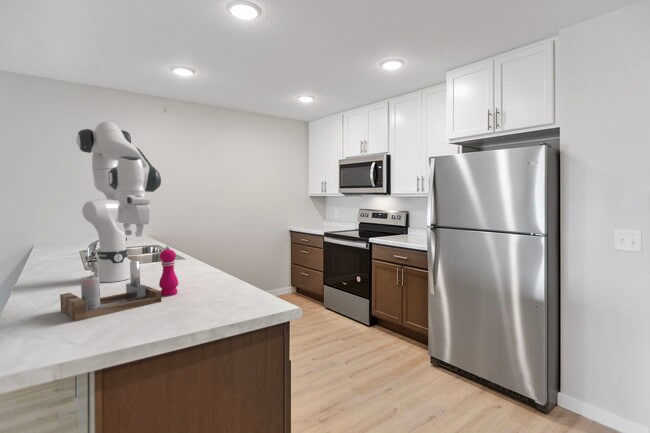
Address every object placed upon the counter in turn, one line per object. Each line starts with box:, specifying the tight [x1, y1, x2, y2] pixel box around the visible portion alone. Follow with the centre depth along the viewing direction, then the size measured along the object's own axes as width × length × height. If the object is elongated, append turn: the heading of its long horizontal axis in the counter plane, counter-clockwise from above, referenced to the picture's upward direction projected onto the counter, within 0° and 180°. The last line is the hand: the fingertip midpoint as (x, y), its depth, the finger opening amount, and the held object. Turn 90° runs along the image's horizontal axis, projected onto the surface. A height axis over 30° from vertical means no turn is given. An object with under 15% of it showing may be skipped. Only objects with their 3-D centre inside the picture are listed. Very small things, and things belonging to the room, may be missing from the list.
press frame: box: [59, 284, 162, 322], centre depth 131 cm, size 16×28×6 cm, turn 140°
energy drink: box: [80, 275, 101, 311], centre depth 126 cm, size 5×5×12 cm
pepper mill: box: [158, 245, 179, 297], centre depth 147 cm, size 7×7×20 cm
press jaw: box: [125, 260, 146, 302], centre depth 137 cm, size 10×3×15 cm, turn 50°
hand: (133, 235), depth 136 cm, fingers open, 8 cm apart
